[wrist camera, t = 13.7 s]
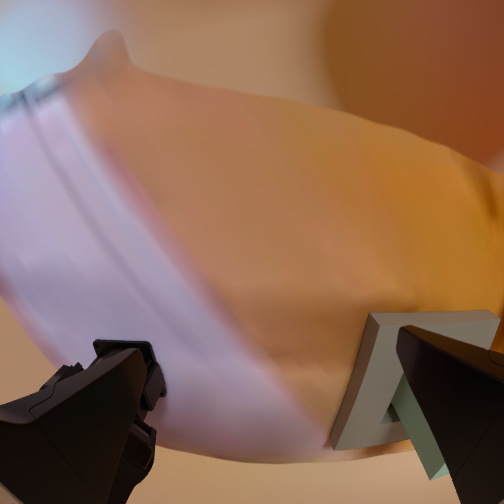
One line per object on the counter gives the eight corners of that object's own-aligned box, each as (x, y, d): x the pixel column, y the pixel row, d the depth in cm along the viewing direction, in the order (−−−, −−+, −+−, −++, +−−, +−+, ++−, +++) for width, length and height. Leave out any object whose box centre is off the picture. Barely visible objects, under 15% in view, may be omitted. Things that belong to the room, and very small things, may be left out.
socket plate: (330, 435, 26) (333, 450, 23) (369, 312, 22) (379, 325, 20) (439, 417, 26) (446, 429, 23) (487, 309, 22) (500, 318, 20)
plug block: (389, 398, 25) (429, 480, 13) (404, 361, 23) (459, 444, 12) (424, 392, 25) (470, 464, 13) (440, 357, 23) (498, 427, 12)
